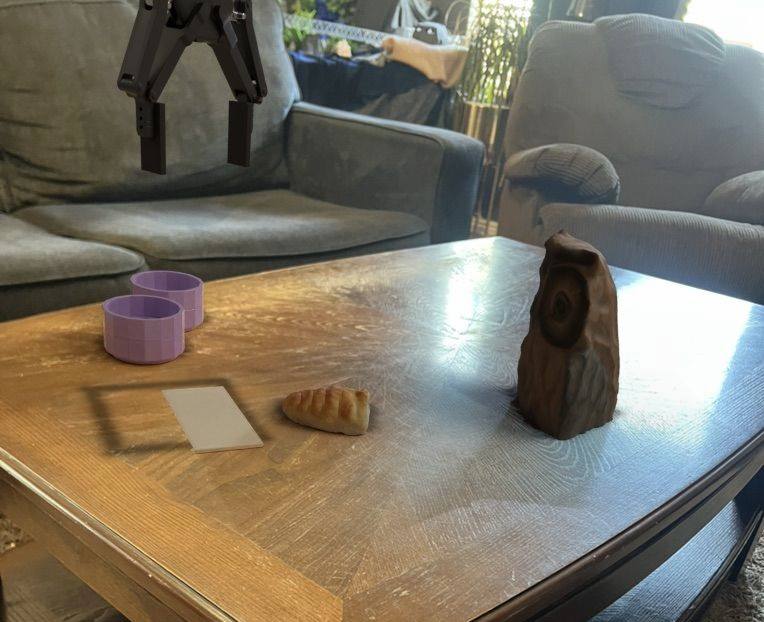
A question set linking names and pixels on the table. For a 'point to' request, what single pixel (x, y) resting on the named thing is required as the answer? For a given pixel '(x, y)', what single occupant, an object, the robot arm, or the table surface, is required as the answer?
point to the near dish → (143, 328)
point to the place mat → (211, 419)
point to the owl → (570, 343)
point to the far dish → (173, 292)
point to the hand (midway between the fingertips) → (198, 168)
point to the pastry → (330, 409)
